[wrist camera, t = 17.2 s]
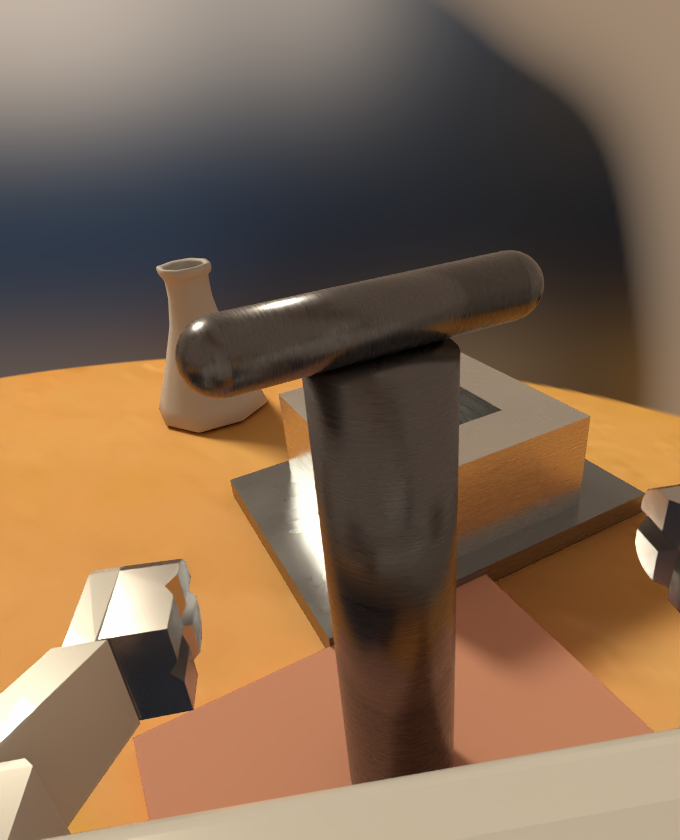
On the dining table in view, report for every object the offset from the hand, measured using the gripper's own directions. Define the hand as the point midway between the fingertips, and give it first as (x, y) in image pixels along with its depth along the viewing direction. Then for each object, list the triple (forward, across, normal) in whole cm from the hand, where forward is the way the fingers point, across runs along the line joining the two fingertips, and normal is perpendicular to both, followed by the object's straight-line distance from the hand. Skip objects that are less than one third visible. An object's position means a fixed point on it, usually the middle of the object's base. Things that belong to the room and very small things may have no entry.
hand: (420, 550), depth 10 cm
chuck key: (+2, 0, +10) cm, 10 cm away
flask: (+29, +8, +11) cm, 32 cm away
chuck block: (+15, -4, +11) cm, 19 cm away
